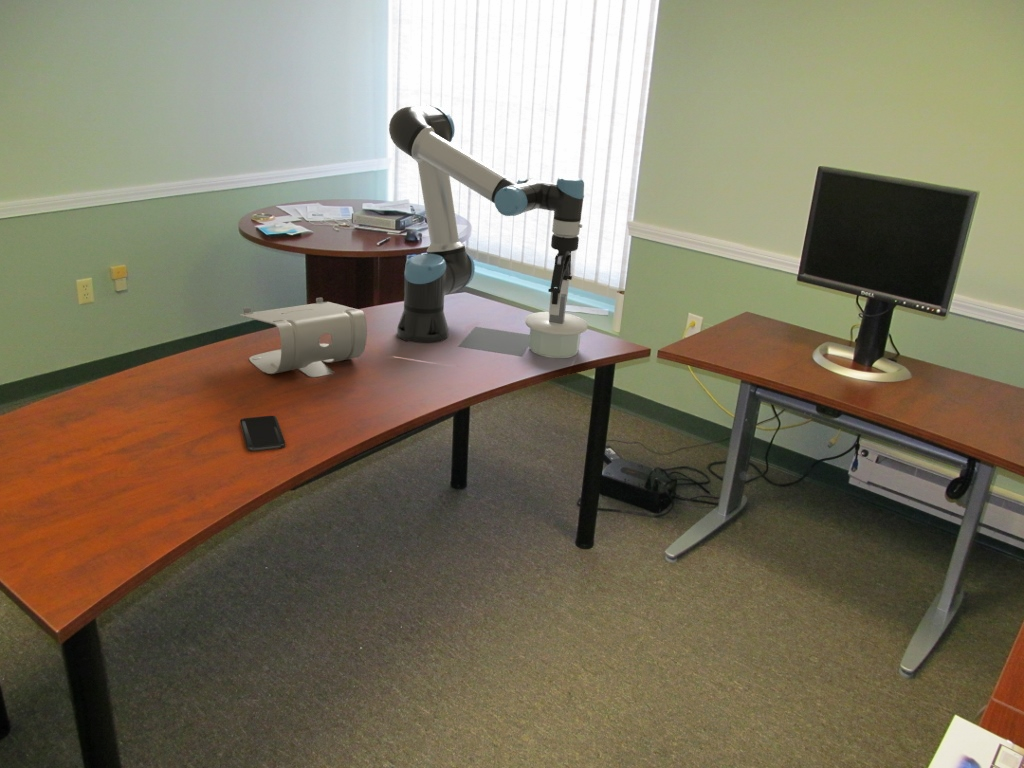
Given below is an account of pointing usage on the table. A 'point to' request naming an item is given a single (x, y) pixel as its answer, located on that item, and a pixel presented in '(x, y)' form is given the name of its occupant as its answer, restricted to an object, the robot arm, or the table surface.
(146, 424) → the table surface
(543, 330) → the lid
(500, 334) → the mat
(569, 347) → the bowl
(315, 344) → the portable electronic device stand
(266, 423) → the phone
